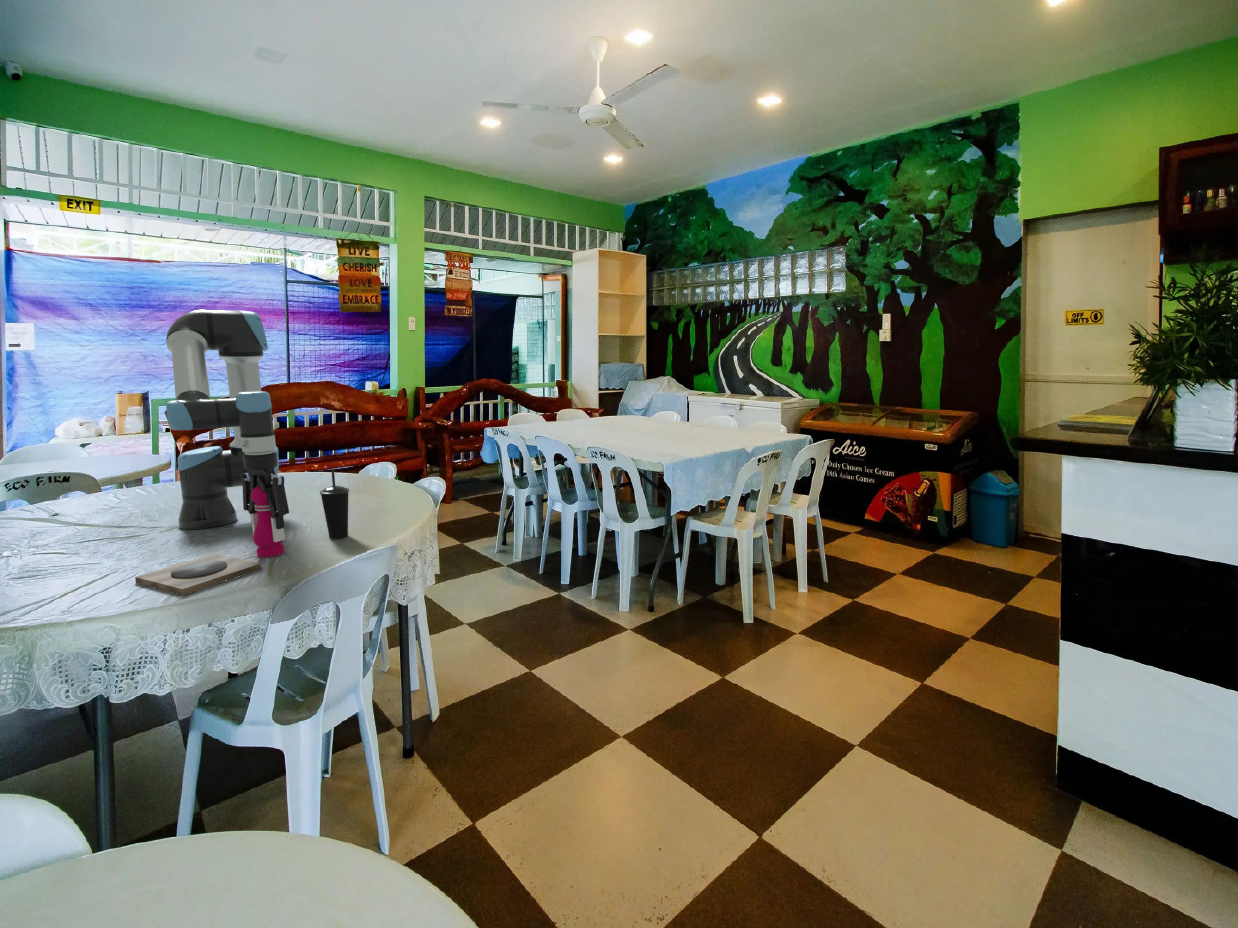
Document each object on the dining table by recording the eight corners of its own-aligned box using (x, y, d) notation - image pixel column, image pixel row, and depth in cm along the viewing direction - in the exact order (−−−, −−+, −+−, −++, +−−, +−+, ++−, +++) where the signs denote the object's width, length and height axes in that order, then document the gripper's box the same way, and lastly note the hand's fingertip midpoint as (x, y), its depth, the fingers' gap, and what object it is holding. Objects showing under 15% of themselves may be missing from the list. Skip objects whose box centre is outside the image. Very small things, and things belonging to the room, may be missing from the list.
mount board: (135, 583, 141) (134, 574, 141) (215, 559, 157) (214, 551, 157) (183, 595, 134) (182, 586, 133) (261, 569, 150) (260, 561, 149)
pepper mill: (277, 547, 166) (269, 475, 163) (291, 552, 162) (284, 478, 159) (249, 554, 161) (240, 480, 157) (263, 560, 156) (254, 483, 153)
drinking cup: (334, 542, 171) (328, 472, 167) (318, 538, 175) (311, 469, 171) (358, 535, 177) (353, 467, 173) (342, 531, 181) (336, 465, 177)
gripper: (219, 452, 157) (230, 538, 162) (272, 457, 149) (281, 547, 153) (248, 448, 164) (257, 530, 168) (299, 452, 156) (308, 539, 160)
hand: (269, 538), depth 161 cm, fingers closed on pepper mill, 7 cm apart
